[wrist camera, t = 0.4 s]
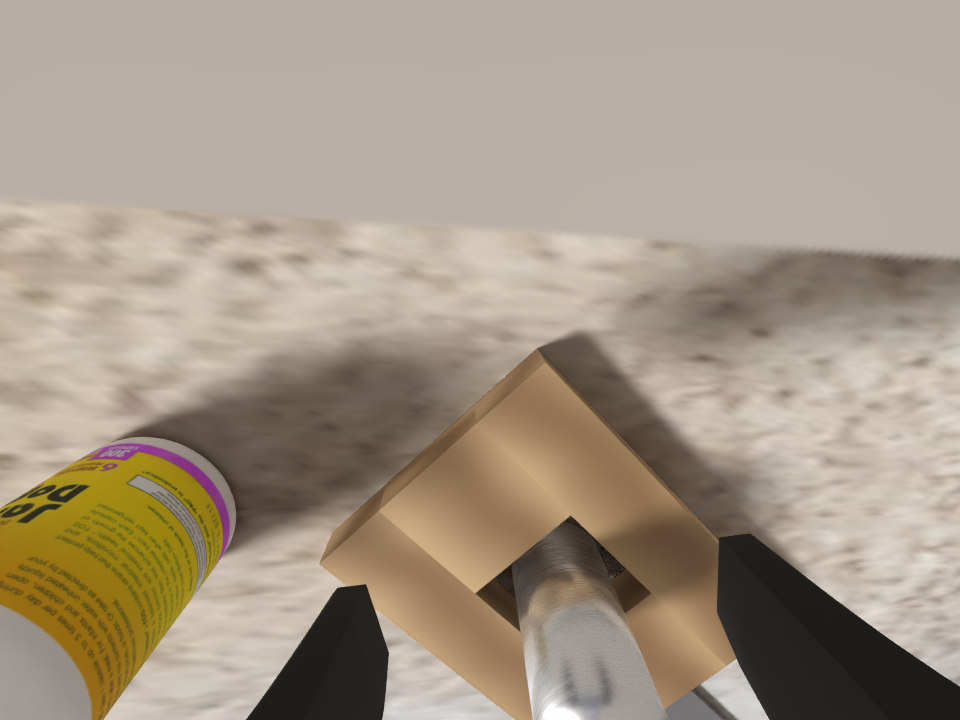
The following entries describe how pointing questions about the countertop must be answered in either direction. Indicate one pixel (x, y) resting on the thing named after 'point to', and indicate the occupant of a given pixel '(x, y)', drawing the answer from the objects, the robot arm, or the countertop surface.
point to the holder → (532, 539)
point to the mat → (692, 708)
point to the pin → (578, 635)
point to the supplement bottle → (103, 572)
